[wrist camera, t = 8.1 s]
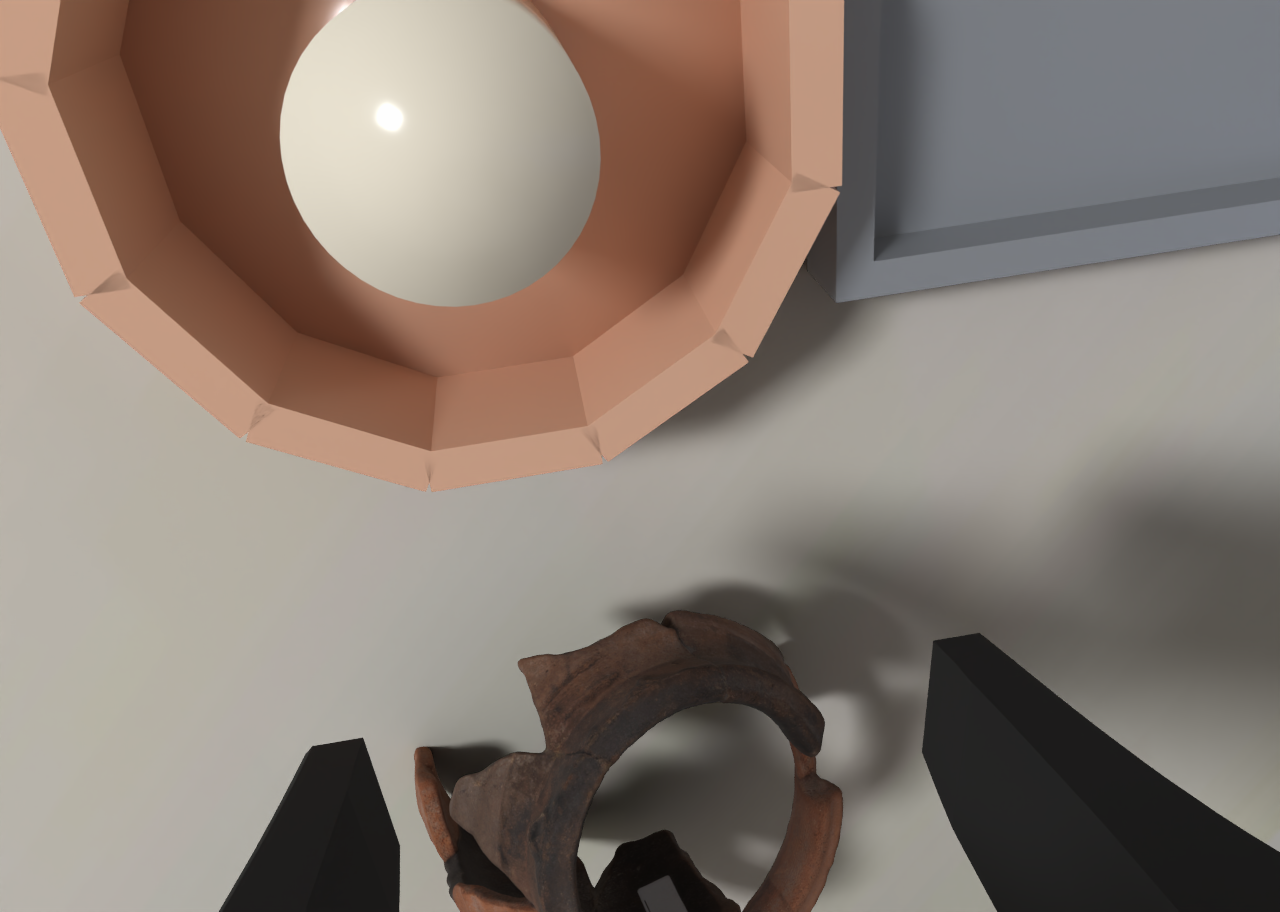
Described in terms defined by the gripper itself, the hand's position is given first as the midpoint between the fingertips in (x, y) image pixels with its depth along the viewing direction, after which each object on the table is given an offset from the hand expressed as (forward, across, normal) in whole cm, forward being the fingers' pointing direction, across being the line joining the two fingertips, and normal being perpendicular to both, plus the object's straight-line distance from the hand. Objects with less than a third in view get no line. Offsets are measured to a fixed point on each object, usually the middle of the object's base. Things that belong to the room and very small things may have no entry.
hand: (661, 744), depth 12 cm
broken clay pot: (+10, 0, +10) cm, 14 cm away
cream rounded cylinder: (+9, +2, -6) cm, 11 cm away
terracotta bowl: (+9, +2, -6) cm, 11 cm away
